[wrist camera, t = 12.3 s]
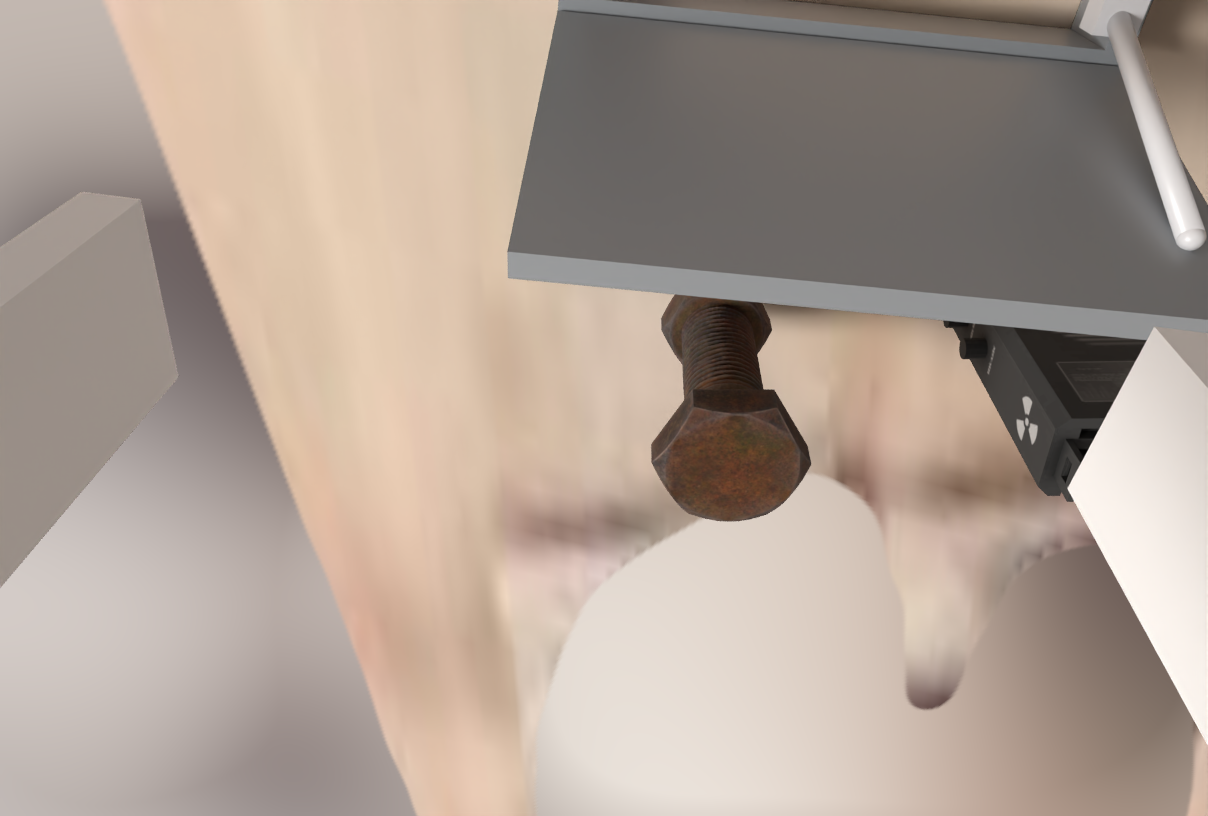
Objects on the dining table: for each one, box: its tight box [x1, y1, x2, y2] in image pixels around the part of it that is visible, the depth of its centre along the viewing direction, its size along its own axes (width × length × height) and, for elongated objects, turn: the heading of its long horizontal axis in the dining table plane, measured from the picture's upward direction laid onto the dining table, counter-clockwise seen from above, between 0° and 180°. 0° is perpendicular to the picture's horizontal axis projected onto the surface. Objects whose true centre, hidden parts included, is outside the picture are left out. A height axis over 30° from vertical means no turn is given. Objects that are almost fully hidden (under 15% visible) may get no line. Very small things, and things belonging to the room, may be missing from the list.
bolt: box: [651, 294, 811, 521], centre depth 38 cm, size 6×5×15 cm
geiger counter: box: [943, 320, 1147, 502], centre depth 38 cm, size 10×4×15 cm, turn 93°
